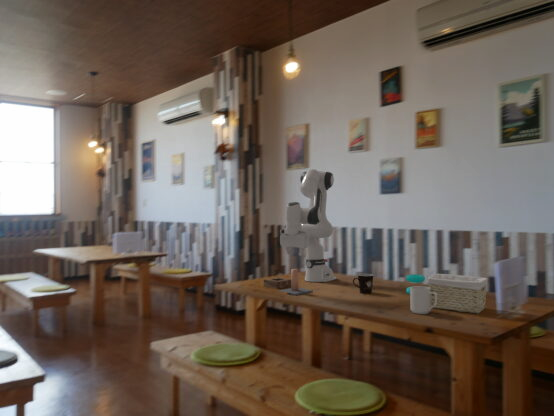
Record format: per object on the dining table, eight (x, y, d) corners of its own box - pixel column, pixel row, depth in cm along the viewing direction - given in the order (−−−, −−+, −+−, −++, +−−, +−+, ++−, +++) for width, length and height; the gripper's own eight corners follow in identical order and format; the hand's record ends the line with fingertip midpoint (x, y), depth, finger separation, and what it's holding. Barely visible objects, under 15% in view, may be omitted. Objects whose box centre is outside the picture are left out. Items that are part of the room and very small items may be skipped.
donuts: (421, 277, 240) (403, 275, 246) (421, 296, 240) (403, 294, 246) (427, 274, 248) (409, 273, 254) (427, 292, 249) (409, 291, 254)
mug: (407, 312, 205) (406, 288, 204) (415, 308, 211) (414, 285, 211) (433, 316, 197) (432, 291, 197) (440, 312, 204) (440, 288, 203)
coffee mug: (372, 291, 256) (372, 273, 256) (374, 294, 247) (374, 276, 247) (352, 291, 257) (351, 273, 257) (353, 294, 248) (352, 276, 248)
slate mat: (295, 288, 267) (295, 287, 267) (312, 292, 256) (312, 290, 256) (277, 292, 258) (277, 290, 258) (294, 295, 247) (294, 293, 247)
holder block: (278, 285, 279) (278, 277, 279) (291, 287, 270) (291, 279, 270) (263, 287, 271) (263, 279, 271) (277, 290, 262) (276, 282, 262)
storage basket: (489, 308, 211) (488, 276, 211) (481, 315, 198) (480, 281, 198) (437, 302, 225) (437, 272, 225) (426, 308, 212) (426, 277, 212)
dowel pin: (295, 289, 260) (294, 268, 260) (299, 290, 257) (299, 269, 257) (290, 290, 257) (289, 269, 257) (294, 291, 254) (294, 270, 254)
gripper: (310, 231, 251) (311, 255, 251) (286, 229, 266) (286, 253, 267) (302, 231, 247) (303, 256, 247) (278, 230, 262) (278, 254, 262)
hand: (294, 254), depth 257 cm, fingers open, 8 cm apart
